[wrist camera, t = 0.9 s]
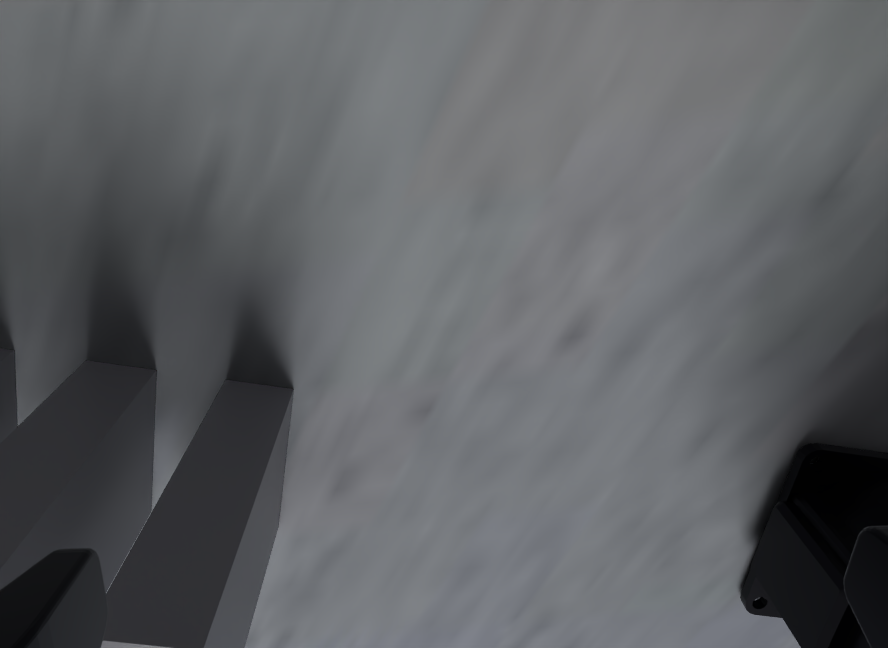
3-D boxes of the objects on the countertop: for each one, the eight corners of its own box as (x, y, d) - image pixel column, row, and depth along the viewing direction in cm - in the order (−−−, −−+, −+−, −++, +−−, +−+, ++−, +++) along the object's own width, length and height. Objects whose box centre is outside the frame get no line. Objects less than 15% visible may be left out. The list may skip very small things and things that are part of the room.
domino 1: (156, 370, 21) (-45, 625, 12) (151, 511, 23) (-28, 830, 14) (85, 360, 21) (-174, 612, 12) (86, 503, 23) (-140, 822, 14)
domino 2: (294, 389, 22) (202, 651, 12) (278, 526, 23) (188, 847, 14) (225, 379, 22) (81, 638, 12) (215, 519, 23) (82, 838, 14)
